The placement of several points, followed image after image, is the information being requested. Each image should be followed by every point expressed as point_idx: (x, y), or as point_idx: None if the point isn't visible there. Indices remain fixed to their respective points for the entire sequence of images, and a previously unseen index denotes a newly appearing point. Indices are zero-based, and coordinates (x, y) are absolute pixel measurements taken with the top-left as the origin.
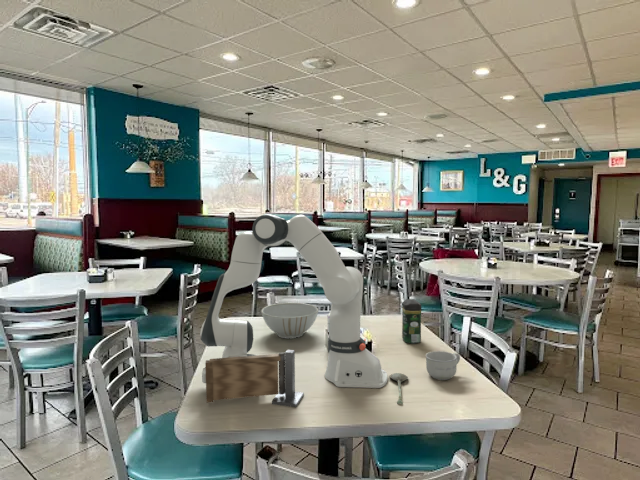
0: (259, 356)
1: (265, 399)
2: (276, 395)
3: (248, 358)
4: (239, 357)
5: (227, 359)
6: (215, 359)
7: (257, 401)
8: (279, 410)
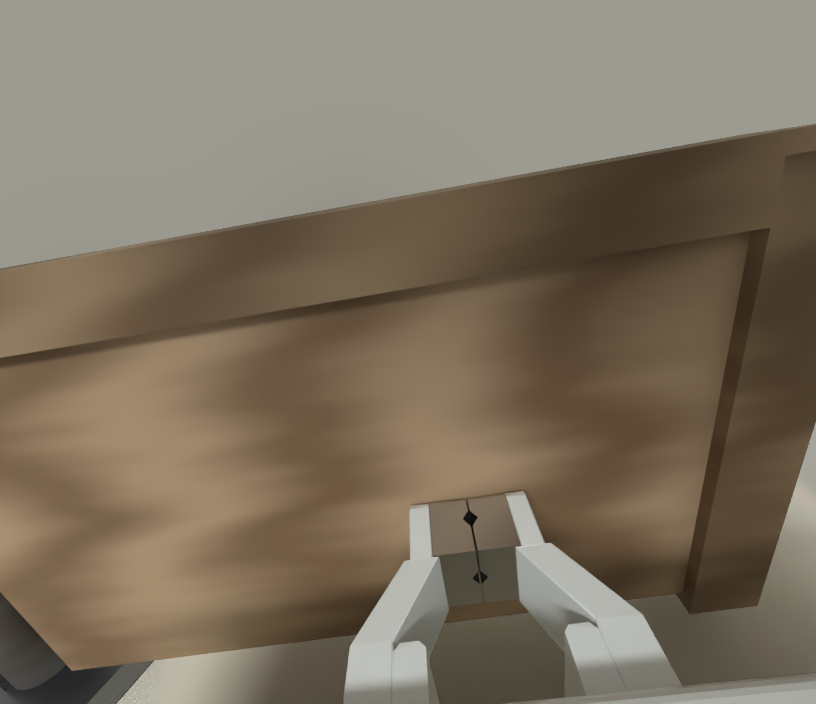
0: (44, 262)
1: (205, 698)
2: (97, 689)
3: (219, 229)
4: (324, 212)
5: (500, 179)
6: (700, 144)
7: (284, 661)
8: None
